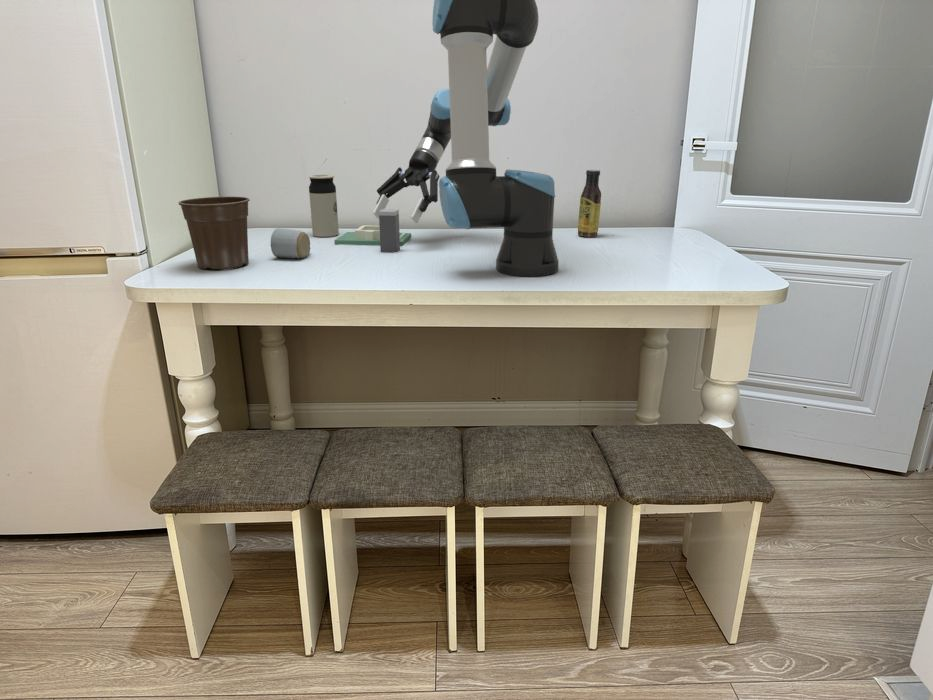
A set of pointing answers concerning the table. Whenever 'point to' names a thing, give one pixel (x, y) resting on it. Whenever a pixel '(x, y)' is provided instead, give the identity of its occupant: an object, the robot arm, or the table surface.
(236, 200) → the plant pot
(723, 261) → the table surface
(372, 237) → the board
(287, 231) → the ceramic mug
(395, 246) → the plug
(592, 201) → the sauce bottle
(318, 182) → the travel mug
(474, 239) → the table surface
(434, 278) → the table surface
